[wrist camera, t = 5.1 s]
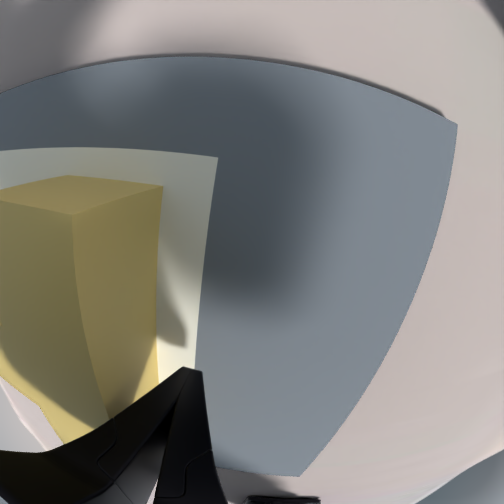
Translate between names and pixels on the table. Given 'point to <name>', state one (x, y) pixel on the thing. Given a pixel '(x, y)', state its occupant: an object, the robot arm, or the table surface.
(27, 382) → the T block
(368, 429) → the table surface
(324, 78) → the mat
